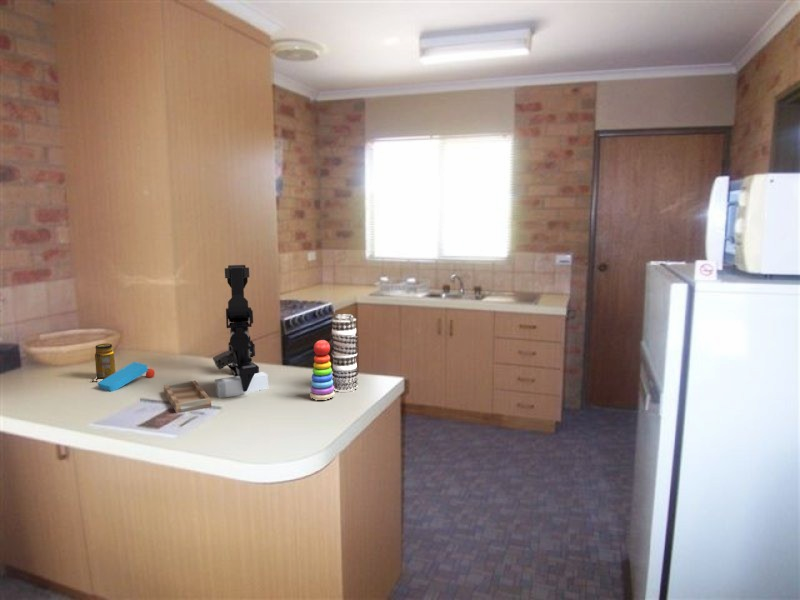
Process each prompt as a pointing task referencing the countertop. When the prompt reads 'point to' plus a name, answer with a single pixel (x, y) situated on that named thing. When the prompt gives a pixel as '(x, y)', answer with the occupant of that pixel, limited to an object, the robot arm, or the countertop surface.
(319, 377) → the stacking toy
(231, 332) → the robot arm
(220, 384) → the white tall block
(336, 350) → the decorative candle
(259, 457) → the countertop surface
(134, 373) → the lever
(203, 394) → the wooden tray
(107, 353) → the condiment
